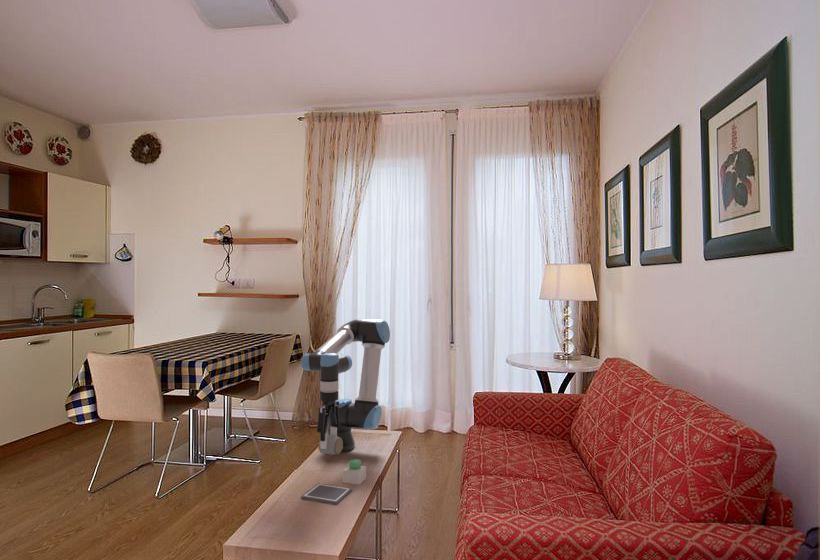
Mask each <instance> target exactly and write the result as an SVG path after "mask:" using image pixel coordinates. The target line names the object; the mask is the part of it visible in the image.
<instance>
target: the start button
mask: <svg viewBox="0 0 820 560" xmlns="http://www.w3.org/2000/svg"><path fill="white" fill-rule="evenodd" d="M348 466H349V468H359V467H361V466H362V461H361V459H358V458H357V459H356V458H354V459H350V460H348Z"/></svg>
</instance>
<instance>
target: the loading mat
mask: <svg viewBox="0 0 820 560" xmlns="http://www.w3.org/2000/svg"><path fill="white" fill-rule="evenodd" d="M352 491H353V488H351V487H345V486H337V485H333V484H332V485H331V484H326V483H325V484H324V483H320V482H319V483H317V484H315V485H314V486H313V487H312V488H310V489H309V490H307V491H306V492H305V493H303V494H302V495H301V496H300V499H302V500H308V501H312V500H313V501H314V502H319V503H324V504H330V503H331V505H338V504H339V503H340V502H342V500H344V499H345V498H346V497H347V496H348V495H350V494H351V492H352ZM313 501H312V502H313Z"/></svg>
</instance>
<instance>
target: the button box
mask: <svg viewBox="0 0 820 560" xmlns="http://www.w3.org/2000/svg"><path fill="white" fill-rule="evenodd" d="M366 479H367V466H366V465H361V467H359V468H349V465H348V466H347V467H345V468H344V469H343V470H342V483H344V482H345V483H346V484H350V485H351V484H352V485H358V486H359V485H360V484H361V483H362V482H363V481H365V480H366Z"/></svg>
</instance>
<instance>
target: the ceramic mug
mask: <svg viewBox="0 0 820 560" xmlns="http://www.w3.org/2000/svg"><path fill="white" fill-rule="evenodd" d="M342 449H343V440H342V439H341V438H340V437H337V436H332V435H328V434H327V449H321V448H320V440H319V441H318V451H319V452H320V453H321V454H324V455H325V454H327V455H333V456H338V455H339V454H341V453H342V452H341V450H342Z"/></svg>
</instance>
